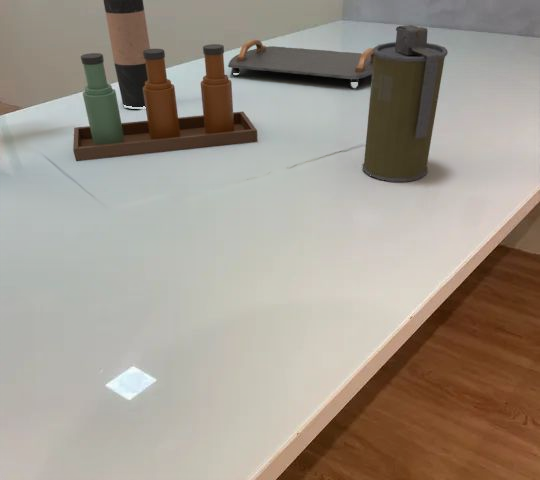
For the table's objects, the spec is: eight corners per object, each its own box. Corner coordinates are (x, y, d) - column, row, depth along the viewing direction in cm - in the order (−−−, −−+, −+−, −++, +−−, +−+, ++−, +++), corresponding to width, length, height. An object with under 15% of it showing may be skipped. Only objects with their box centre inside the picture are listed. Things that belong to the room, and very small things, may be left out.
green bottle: (101, 153, 97) (82, 60, 87) (89, 145, 100) (69, 55, 91) (130, 146, 99) (114, 55, 90) (117, 138, 102) (100, 50, 93)
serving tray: (217, 76, 138) (215, 48, 134) (258, 56, 154) (258, 30, 150) (367, 92, 125) (369, 61, 121) (396, 68, 140) (399, 40, 136)
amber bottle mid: (159, 147, 98) (146, 56, 89) (145, 139, 102) (131, 50, 92) (186, 140, 101) (175, 51, 92) (171, 133, 104) (160, 45, 95)
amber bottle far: (215, 141, 100) (207, 51, 91) (199, 133, 104) (191, 46, 94) (240, 135, 103) (235, 46, 93) (224, 127, 106) (218, 41, 97)
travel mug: (126, 112, 117) (106, -1, 104) (118, 103, 122) (98, -6, 109) (162, 107, 119) (146, -4, 106) (152, 98, 124) (137, -9, 111)
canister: (350, 163, 93) (361, 24, 80) (404, 154, 95) (423, 18, 82) (384, 188, 85) (402, 38, 72) (442, 176, 88) (469, 31, 75)
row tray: (76, 164, 95) (73, 149, 93) (77, 142, 103) (74, 127, 102) (257, 145, 100) (257, 130, 99) (244, 125, 109) (243, 111, 107)
